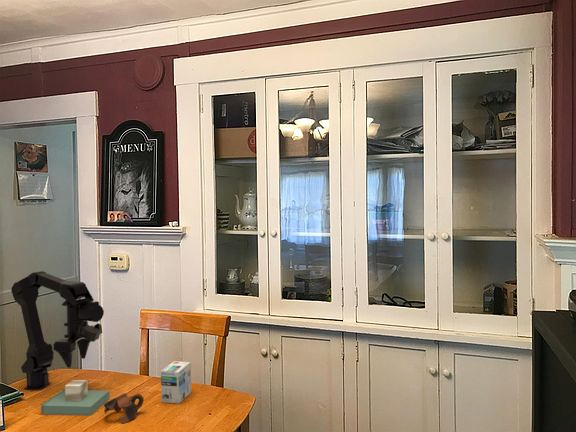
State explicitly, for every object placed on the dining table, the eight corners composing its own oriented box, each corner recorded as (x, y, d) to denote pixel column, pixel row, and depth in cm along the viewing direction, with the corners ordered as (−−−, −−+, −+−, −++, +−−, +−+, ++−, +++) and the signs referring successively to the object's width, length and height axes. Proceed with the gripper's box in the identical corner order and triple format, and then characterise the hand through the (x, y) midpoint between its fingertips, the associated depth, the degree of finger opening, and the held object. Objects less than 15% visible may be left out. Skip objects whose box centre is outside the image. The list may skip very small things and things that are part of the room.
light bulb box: (179, 404, 163) (178, 372, 163) (160, 402, 165) (159, 371, 164) (192, 391, 174) (191, 361, 173) (174, 390, 175) (173, 360, 175)
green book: (41, 415, 157) (41, 405, 157) (63, 398, 170) (63, 389, 170) (90, 416, 156) (90, 406, 156) (109, 399, 169) (109, 390, 169)
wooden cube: (80, 401, 160) (79, 386, 160) (65, 400, 161) (65, 385, 161) (87, 395, 165) (87, 380, 165) (73, 394, 166) (73, 380, 166)
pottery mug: (113, 429, 147) (103, 403, 149) (109, 431, 155) (98, 407, 156) (151, 408, 154) (140, 384, 156) (145, 412, 162) (134, 388, 163)
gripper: (83, 326, 162) (84, 373, 163) (110, 313, 180) (110, 355, 181) (51, 325, 163) (52, 371, 164) (81, 312, 182) (82, 354, 182)
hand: (76, 362), depth 173 cm, fingers open, 9 cm apart
